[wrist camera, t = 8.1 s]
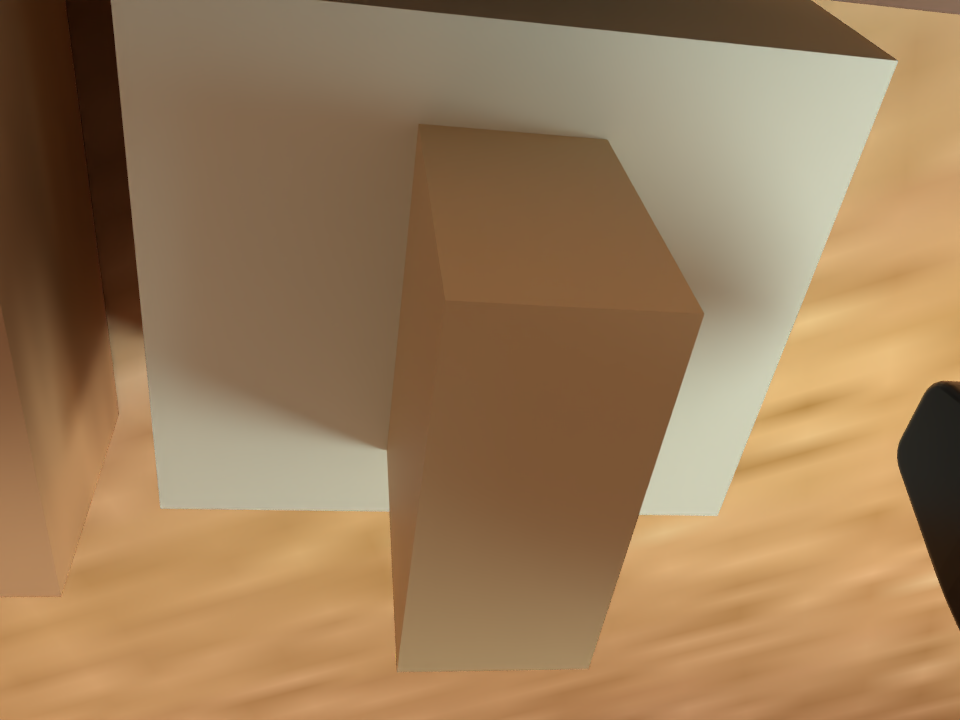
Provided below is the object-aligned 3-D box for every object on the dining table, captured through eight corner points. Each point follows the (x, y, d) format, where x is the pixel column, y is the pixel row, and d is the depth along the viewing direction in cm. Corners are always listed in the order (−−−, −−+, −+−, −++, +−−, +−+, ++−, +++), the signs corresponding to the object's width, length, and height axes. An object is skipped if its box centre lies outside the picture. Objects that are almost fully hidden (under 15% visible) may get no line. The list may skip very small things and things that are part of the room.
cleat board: (1232, 442, 17) (1462, 641, 14) (-23, 409, 14) (-155, 669, 10) (1710, -158, 12) (2324, -83, 8) (-243, -489, 8) (-738, -630, 4)
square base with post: (649, 358, 15) (808, 722, 10) (199, 339, 14) (105, 742, 8) (763, -33, 11) (1110, 209, 6) (174, -104, 10) (-7, 121, 5)
